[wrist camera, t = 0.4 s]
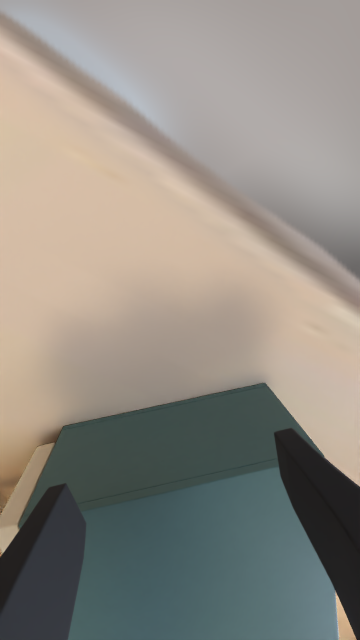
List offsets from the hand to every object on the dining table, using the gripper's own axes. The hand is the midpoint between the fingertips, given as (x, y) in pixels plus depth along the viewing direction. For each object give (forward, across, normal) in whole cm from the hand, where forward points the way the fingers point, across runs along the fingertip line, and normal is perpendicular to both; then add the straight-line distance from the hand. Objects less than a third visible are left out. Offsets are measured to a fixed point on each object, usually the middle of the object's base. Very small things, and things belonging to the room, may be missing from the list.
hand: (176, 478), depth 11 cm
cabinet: (+9, +1, +11) cm, 14 cm away
